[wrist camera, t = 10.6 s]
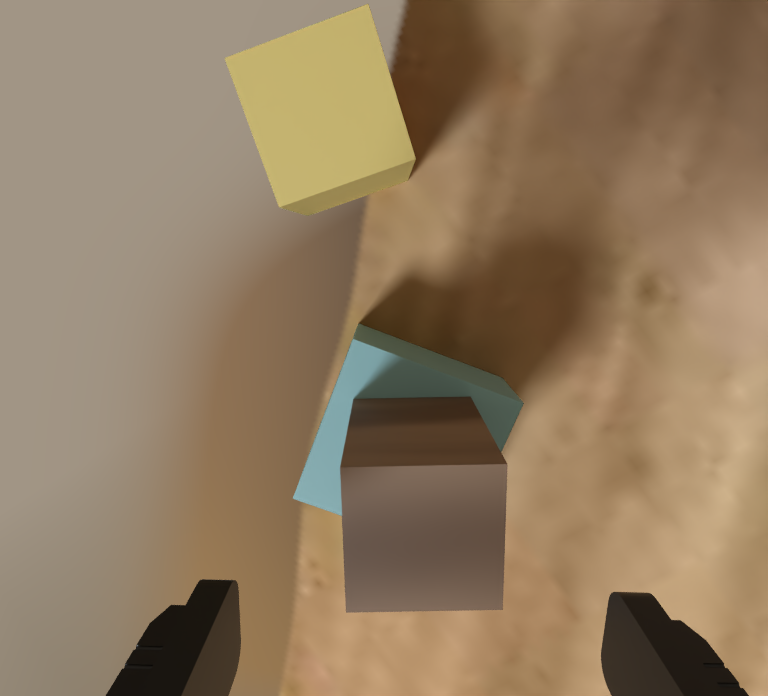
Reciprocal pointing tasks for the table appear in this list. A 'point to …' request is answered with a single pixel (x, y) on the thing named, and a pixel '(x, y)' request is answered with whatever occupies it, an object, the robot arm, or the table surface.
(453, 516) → the walnut block
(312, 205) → the mustard block
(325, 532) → the table surface
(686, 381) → the table surface
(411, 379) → the teal plinth block
